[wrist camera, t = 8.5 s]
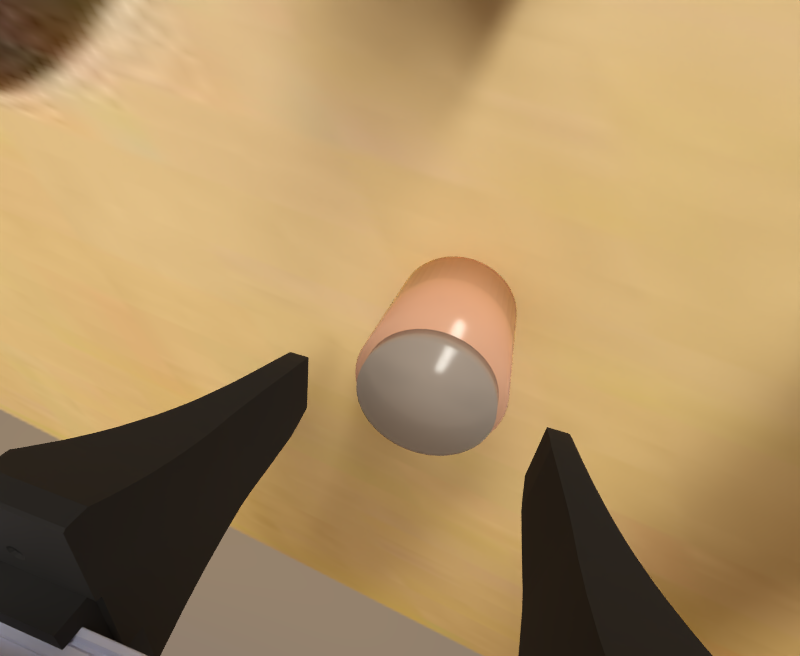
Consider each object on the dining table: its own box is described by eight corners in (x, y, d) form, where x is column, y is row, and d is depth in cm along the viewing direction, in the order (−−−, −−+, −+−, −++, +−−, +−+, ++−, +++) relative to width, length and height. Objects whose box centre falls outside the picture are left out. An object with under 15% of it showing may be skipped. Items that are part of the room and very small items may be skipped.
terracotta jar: (543, 318, 17) (544, 417, 12) (455, 379, 20) (427, 482, 15) (455, 231, 16) (419, 298, 11) (377, 307, 19) (318, 389, 14)
